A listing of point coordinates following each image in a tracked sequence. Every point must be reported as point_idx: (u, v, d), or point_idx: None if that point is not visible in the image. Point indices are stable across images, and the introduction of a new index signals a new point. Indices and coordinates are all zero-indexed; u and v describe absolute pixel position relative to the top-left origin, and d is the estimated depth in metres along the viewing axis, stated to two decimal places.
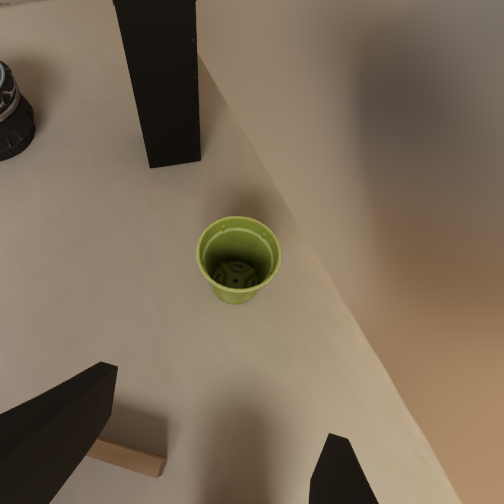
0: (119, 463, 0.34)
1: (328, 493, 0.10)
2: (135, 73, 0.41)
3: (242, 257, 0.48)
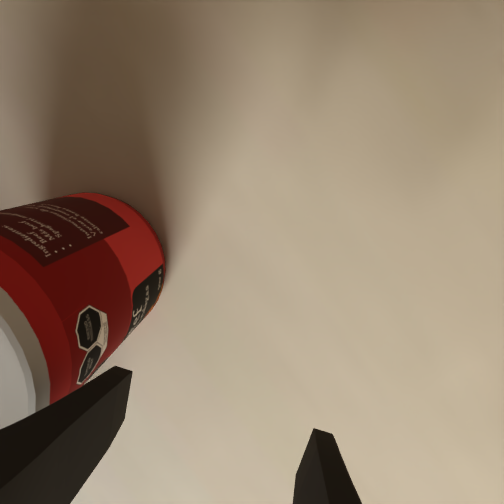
0: None
1: (310, 487, 0.10)
2: None
3: None
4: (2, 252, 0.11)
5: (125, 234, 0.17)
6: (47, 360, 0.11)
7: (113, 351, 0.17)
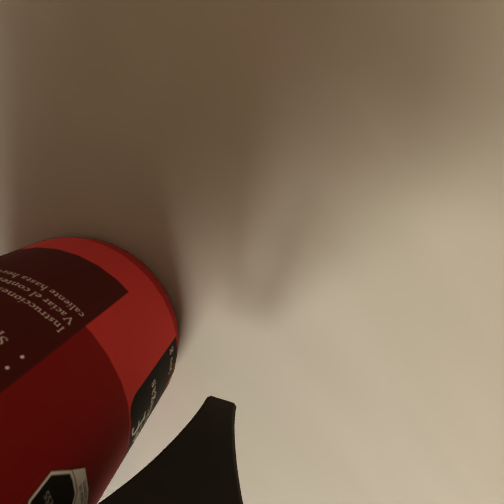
0: None
1: None
2: None
3: None
4: None
5: (121, 307, 0.12)
6: None
7: None
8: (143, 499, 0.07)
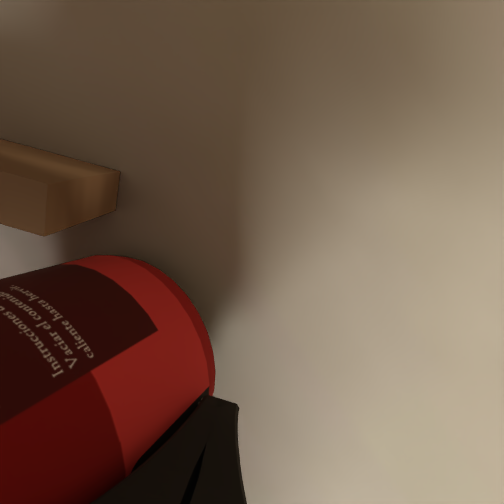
0: None
1: None
2: None
3: None
4: None
5: (144, 349, 0.10)
6: None
7: None
8: (138, 497, 0.07)
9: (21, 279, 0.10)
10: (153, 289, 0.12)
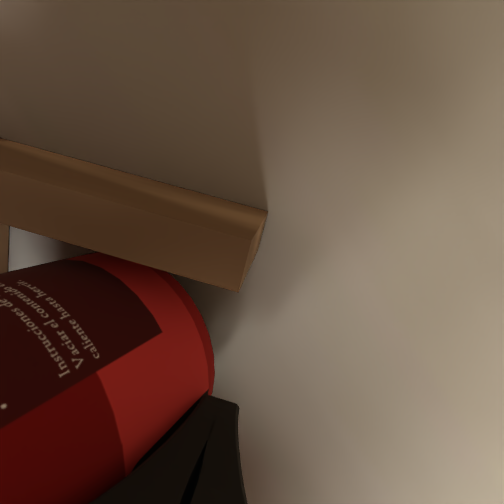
0: (110, 248, 0.10)
1: None
2: None
3: None
4: None
5: (148, 351, 0.10)
6: None
7: None
8: (137, 496, 0.07)
9: (28, 274, 0.10)
10: (158, 290, 0.12)
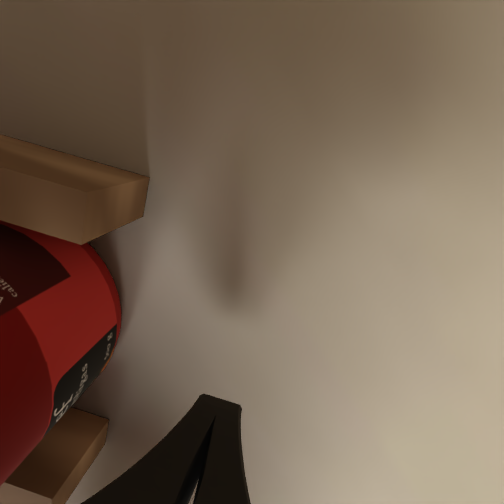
0: None
1: (206, 453, 0.10)
2: None
3: None
4: None
5: (60, 291, 0.12)
6: None
7: None
8: (132, 495, 0.07)
9: None
10: (62, 242, 0.13)
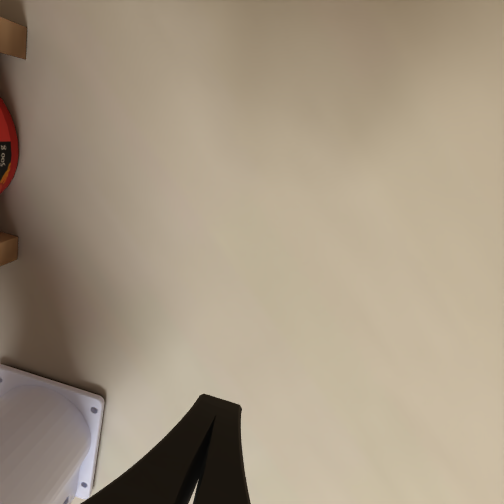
0: None
1: (206, 453, 0.10)
2: None
3: None
4: None
5: None
6: None
7: None
8: (132, 495, 0.07)
9: None
10: None
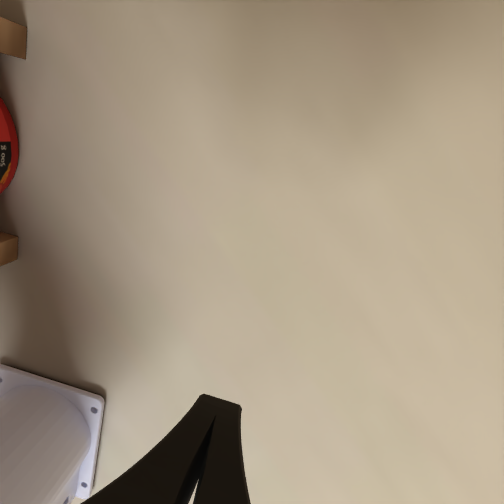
0: None
1: (206, 453, 0.10)
2: None
3: None
4: None
5: None
6: None
7: None
8: (132, 495, 0.07)
9: None
10: None
